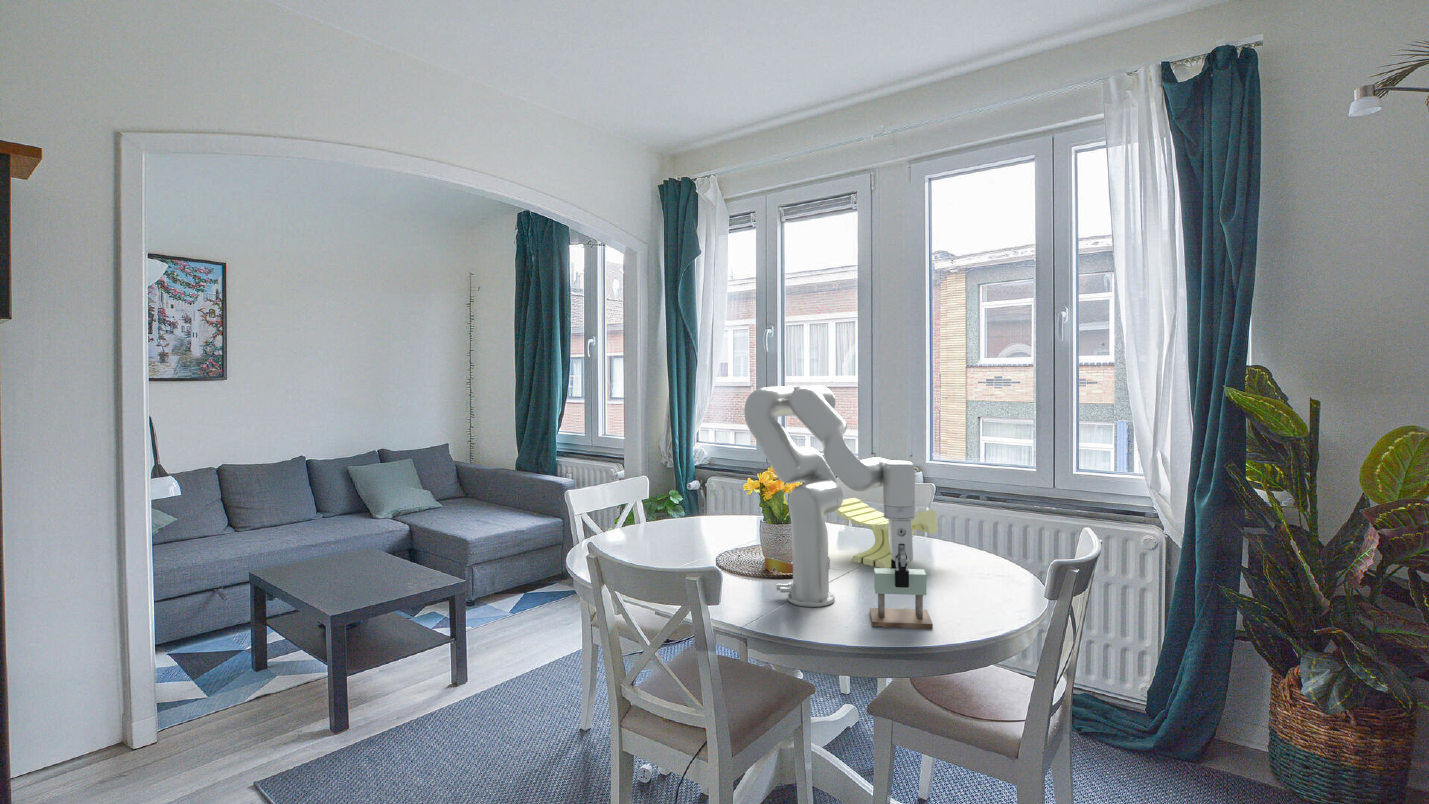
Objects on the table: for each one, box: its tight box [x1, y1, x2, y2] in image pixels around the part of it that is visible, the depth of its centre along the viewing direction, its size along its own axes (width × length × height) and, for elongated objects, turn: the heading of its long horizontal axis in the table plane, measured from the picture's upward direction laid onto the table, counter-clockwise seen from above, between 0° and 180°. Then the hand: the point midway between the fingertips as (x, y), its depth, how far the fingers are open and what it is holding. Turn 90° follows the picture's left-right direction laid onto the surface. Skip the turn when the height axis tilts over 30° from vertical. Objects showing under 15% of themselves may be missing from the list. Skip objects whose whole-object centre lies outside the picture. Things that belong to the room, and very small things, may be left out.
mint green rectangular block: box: [873, 567, 927, 596], centre depth 173 cm, size 4×12×5 cm, turn 81°
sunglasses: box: [764, 556, 793, 573], centre depth 220 cm, size 14×15×5 cm
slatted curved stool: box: [833, 497, 939, 569], centre depth 228 cm, size 30×16×18 cm, turn 42°
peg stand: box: [869, 594, 934, 630], centre depth 174 cm, size 14×10×7 cm
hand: (899, 581), depth 173 cm, fingers open, 9 cm apart
